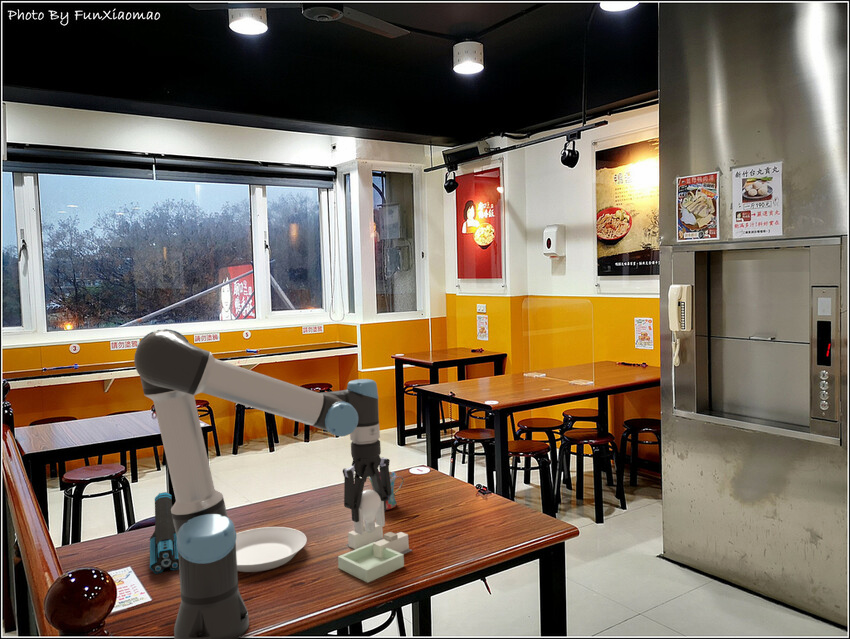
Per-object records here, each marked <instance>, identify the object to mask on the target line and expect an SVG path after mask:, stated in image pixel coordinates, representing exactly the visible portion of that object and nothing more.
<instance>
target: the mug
mask: <svg viewBox="0 0 850 639" xmlns="http://www.w3.org/2000/svg"><path fill="white" fill-rule="evenodd" d="M379 473H380V471H379ZM389 475H390V483H391V492H392V494H391V496H388V500H387V501H386V511H388V510H391V509H394V508H395V507H397V505H398V503H397V501H396V499H395V497H396V496H397V495H396V494H397V493H398V491H400V489H401V487H402V486H403V484H404V480H405V479H404V477H403V476H401V475H398V474H397V473H396V472H395V471H390V470H389ZM399 478H401V483H400V485H399V486H398V488H397V489H396V490H394V489H395V483H396V480H397V479H399ZM367 479H369V482H370V484H371V487H372V490H374V491H375V489H374V486H373V483H372V481H371V478H370V476H369V477H368V478H367ZM380 479H381V478H380Z"/></svg>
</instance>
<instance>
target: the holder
mask: <svg viewBox="0 0 850 639" xmlns="http://www.w3.org/2000/svg"><path fill="white" fill-rule="evenodd" d="M383 527H384V526H380V525H377V524H376V521H375V530H374V531H373V532H371V533H369V532H367V531H365V523H364V522H363V531H364V534H362V535H360V534H358V533H355V529H354V530H353V529H352V530H350V531H348V532H347V537H348V538H347V540H348V541H347V542H348V543H346V544H345V546H346V547H349V548H351V549H353V550H355V549H358V548H360V547H363V546H365V545H368V544H370V543H373V542H374V543H373V556H376V557H378V558H380V559H381V558H384V557H383V548H385V547H387V548H389V549H392V550H394V551H396V552H399V553H401V554H404V555H405V554H408V553H411V552H413V550H412V549H410V548H409V547H410V546H409V534H408V533H406V532H402V531H400V532H396V533H394V532H392V531H389V532H386V533H384V532H383Z"/></svg>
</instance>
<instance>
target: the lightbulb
mask: <svg viewBox="0 0 850 639" xmlns="http://www.w3.org/2000/svg"><path fill="white" fill-rule="evenodd" d="M380 506H381V498H380V496H379V494H378V493H377V492H376V491H374V490H373V489H369V488H368V489H365V490H364V489H363V493H362V498H361V503H360V508H362V512H363V523H365V531H367V532H369V533H371V532H373V531H374V530H375V522H376V514H377V512H378V510H379V508H380Z"/></svg>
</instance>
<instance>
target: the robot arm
mask: <svg viewBox="0 0 850 639" xmlns="http://www.w3.org/2000/svg"><path fill="white" fill-rule="evenodd" d="M133 360H134V367H135V370H136V372H137V374H138V375H139V377H140V382H141V385H142V390H143V395H144V396H145V397H146V398H148V399H150V400H152V401H153V405H154V409H155V413H156V418H157V424H158V427H159V431H160V436H161V441H162V444H163V449H164V454H165V459H166V462H167V467H168V471H169V475H170V476H169V477H170V480H171V485H172V488H173V490H172V491H173V493H174V497H175V498H174V499H175V502H174V504H172V508H171V513H172V518H173V522H174V527H175V531H176V536H177V550H178V558H179V569H178V570H179V573H178V575H179V588H180V590H179V591H180V604H179V607H178V612H177V616H176V619H175V623H174V626H173V627H174V628H173V633H174V634H173V635H174V638H173V639H239V638H240V637H242V636H243V635H244V634H245V633H246V632H247V630H248V628H249V625H250V620H249V618H250V617H249V612H248V611H249V610H248V608H247V606H246V604H245V601H244V599H243V597H242V595H241V592H240V590H239V578H238V577H239V576H238V575H239V574H238V573H239V572H238V571H237V556H236V533H237V531H236V529H235V524H234V522H233V520H232V519H231V518H229V516H228V512H227V508H226V501H225V499H224V494H223V493H222V492H220V491H219V490H216V489H215V486H214V485H215V484H214V480H213V477H212V471H211V467H210V463H209V459H208V453H207V448H206V444H205V439H204V435H203V430H202V425H201V421H200V416H199V413H198V408H197V404H196V398H195V396H197V395H198V394H200V393H201V394H202V393H203V394H206V395H208V396H209V395H210V396H212V397H216V398H219V399H223V400H226V401H229V402H232V403H235V404H240V405H241V406H242V405H243V406H245V407H249V408H252V409H254V410H259V411H262V412H266V413H268V414H272V415H276V416H279V417H282V418H285V419H289V420H291V421H295V422H298V423H302V424H304V425H308V426H311V427H314V428H317V429H320V430H324V431H327V432H329V434H331V435H333V436H337V437H346V436H348V435H349V439H350V441H351V442H350V454H351V455H350V456H351V457H352V462H351V466H349V467H348V468H343V469H342V474H343V477H344V480H343V481H344V488H343V489H344V494H343V495H344V496H343V505H344V507H345V508H347V509H349V510H350V511H351V512H350V513H351V520H352V522H353V524H354V530H355V533H358V534H360V535H362V534H364V531H363V523H364V520H363V512H362V508H360V503H361V498H362V493H363V491H364V487H365V483H366V482H367V479H369V478H368V477H369V476H370V478H371V481H372V483H373V486H374V489H375V491H376V492H377V493H378V494H379V496H380V498H381V506H380V508H379V510H378V512H377V514H376V519H375V522H376V524H377V525H380V526H382V527H385V526H386V520H385V512H386V511H387V510H386V501H387V500H388V496H391V494H392V492H391V483H390V475H389V471H390V461H391V460H390V458H387V457H381V456H380V455H381V454H382V453H381V452H382V451H381V448H382V447H381V441H380V440H379V439H380V438H381V434H380V433H381V430H380V429H381V428H380V419H379V417H380V416H379V415H380V414H379V391H378V386H377V385H378V384H377V382H376V381H375V380H373V379H369V378H362V379H361V378H359V379H354V380H350V381H349V382H348V383H347V387H346V389H343V390H334V391H333V390H332V391H325V392H322V391H321V392H317V391H314V390H312V389H311V390H310V389H308V388H305V387H302V386H299V385H296V384H292V383H289V382H287V381H284V380H281V379H278V378H275V377H272V376H269V375H266V374H263V373H259V372H256V371H253V370H250V369H247V368H244V367H241V366H239V365H235V364H232V363H231V362H230V363H229V362H226V361H223V360H220V359H217V358H215V356H214V355H213V353H212V352H211V351H208V350H205V349H202V348H200V347H198V346H196V345H194V344H192V343H190V342H189V340H188V339H187V337H186V336H185V335H183V334H182V333H180V332H179V331H176V330H173V329H167V328H164V329H158V330H153V331H151V332H149V333H147V334H146V335H145V336H143V338H141V340H139V343H138V344H137V346H136V351H135V354H134V359H133ZM379 472H380V473H379ZM380 478H381V479H380Z"/></svg>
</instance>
